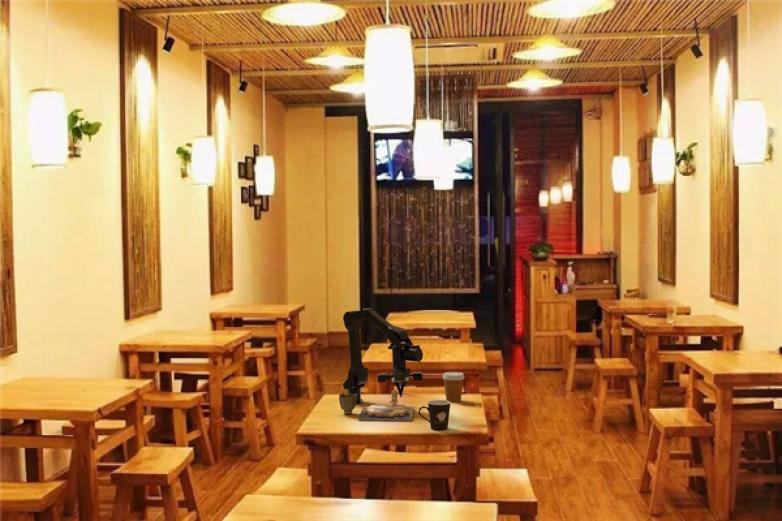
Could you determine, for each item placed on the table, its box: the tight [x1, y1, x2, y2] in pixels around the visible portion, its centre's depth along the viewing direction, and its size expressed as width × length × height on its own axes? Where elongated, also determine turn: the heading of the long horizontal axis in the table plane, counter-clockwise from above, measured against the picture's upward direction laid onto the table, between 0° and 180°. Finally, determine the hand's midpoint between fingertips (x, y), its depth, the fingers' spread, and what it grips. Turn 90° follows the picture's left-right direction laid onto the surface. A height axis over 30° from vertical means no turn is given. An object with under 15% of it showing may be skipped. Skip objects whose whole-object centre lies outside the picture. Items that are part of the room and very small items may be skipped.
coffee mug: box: [418, 399, 452, 432], centre depth 322 cm, size 12×9×10 cm
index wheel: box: [364, 390, 411, 417], centre depth 345 cm, size 20×19×6 cm
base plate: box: [357, 405, 415, 422], centre depth 345 cm, size 21×21×1 cm
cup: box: [338, 392, 357, 415], centre depth 347 cm, size 8×7×8 cm
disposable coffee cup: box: [442, 371, 465, 403], centre depth 369 cm, size 10×10×12 cm
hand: (400, 397), depth 354 cm, fingers closed
